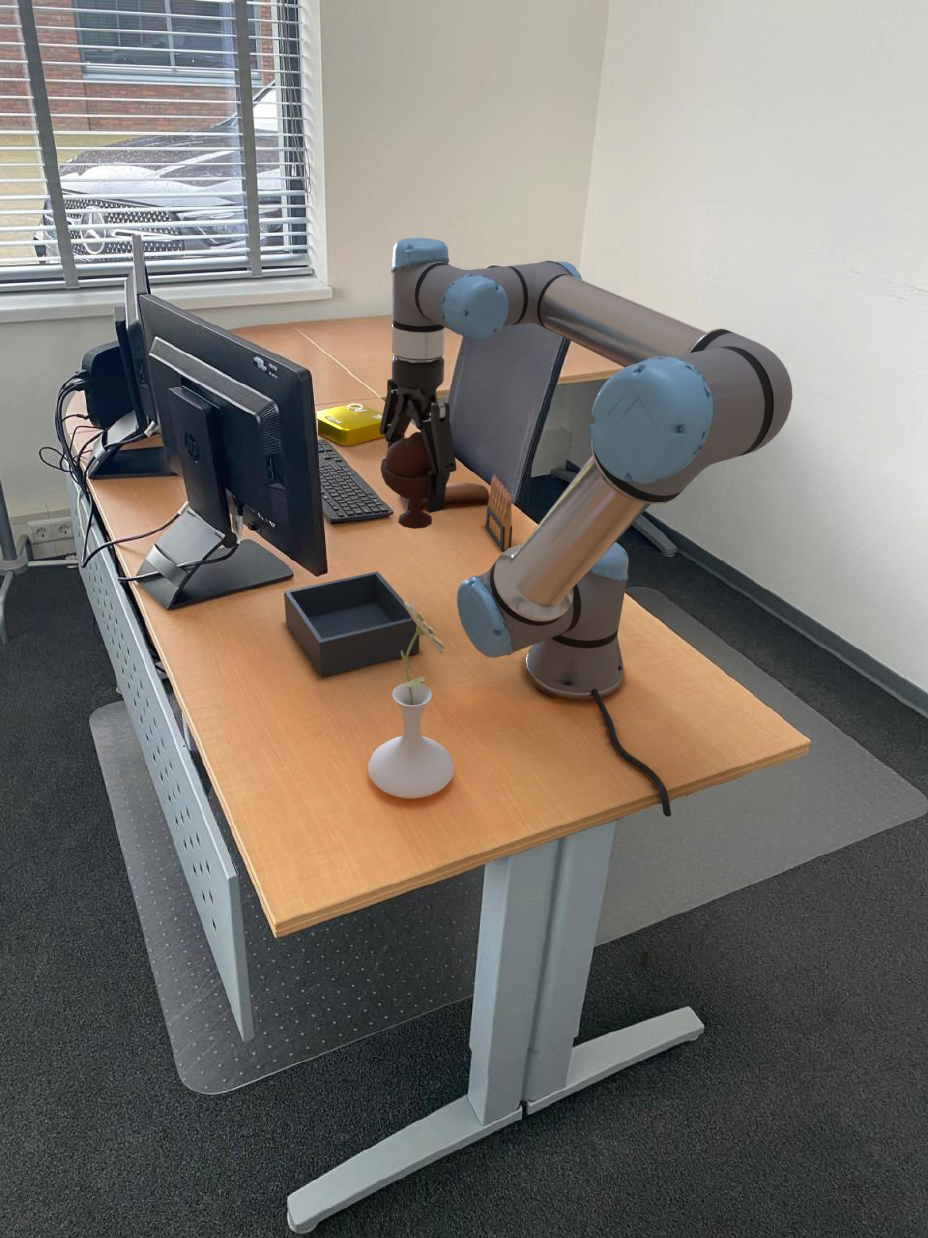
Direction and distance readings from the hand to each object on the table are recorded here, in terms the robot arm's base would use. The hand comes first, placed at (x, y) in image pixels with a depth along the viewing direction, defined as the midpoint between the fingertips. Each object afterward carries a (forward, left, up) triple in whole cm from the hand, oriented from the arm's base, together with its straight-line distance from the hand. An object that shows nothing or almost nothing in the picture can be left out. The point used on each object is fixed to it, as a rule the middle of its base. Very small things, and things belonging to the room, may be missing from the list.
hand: (415, 495), depth 141 cm
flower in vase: (-34, +16, -23) cm, 45 cm away
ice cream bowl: (0, 0, -5) cm, 5 cm away
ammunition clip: (+21, -29, -23) cm, 42 cm away
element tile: (+86, -24, -23) cm, 92 cm away
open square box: (-1, +11, -23) cm, 26 cm away
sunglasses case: (+41, -27, -23) cm, 54 cm away
